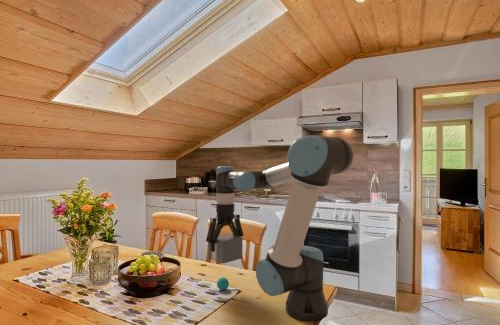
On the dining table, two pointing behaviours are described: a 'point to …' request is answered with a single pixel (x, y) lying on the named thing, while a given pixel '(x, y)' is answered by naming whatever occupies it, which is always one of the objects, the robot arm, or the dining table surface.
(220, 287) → the ball
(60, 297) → the dining table surface
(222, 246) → the matte grey cube
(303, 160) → the robot arm
